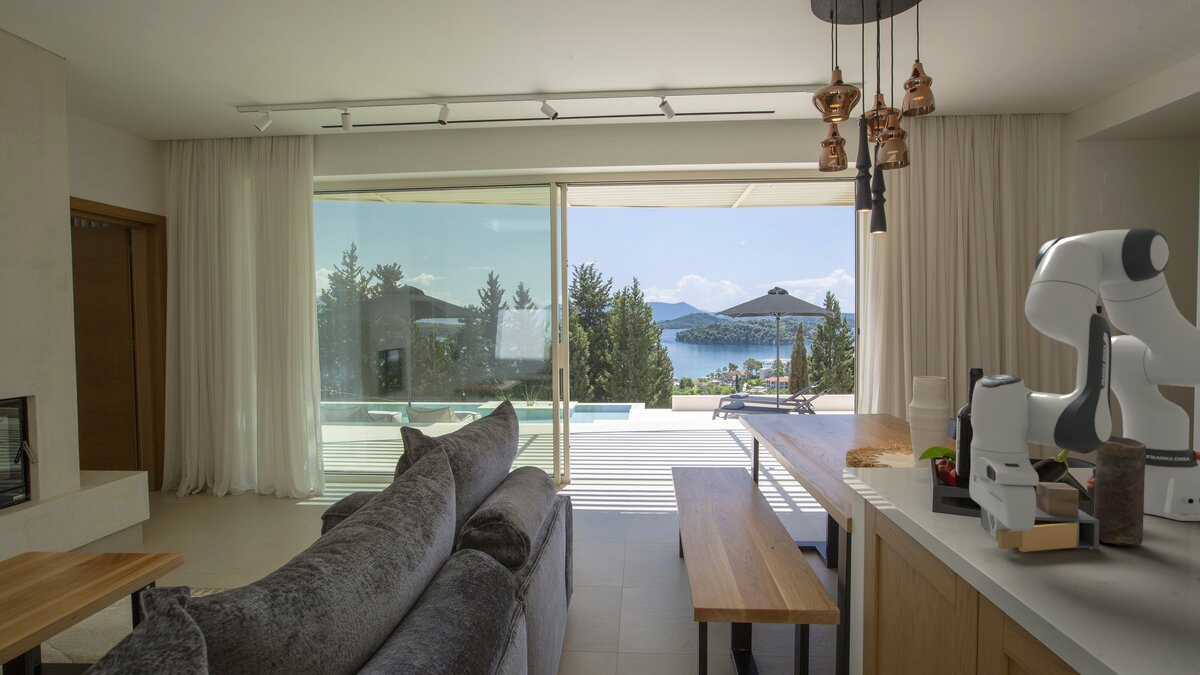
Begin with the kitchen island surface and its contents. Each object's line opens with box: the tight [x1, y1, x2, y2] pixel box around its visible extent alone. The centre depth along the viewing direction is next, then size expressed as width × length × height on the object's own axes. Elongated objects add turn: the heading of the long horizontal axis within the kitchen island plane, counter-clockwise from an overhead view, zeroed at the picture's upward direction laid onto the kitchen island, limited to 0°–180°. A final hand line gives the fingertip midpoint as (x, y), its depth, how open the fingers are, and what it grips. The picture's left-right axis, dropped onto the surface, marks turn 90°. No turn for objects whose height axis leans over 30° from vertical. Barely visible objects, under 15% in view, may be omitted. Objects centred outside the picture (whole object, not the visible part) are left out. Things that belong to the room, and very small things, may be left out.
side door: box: [997, 521, 1079, 553], centre depth 113 cm, size 17×1×5 cm, turn 101°
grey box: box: [980, 506, 1100, 550], centre depth 122 cm, size 16×11×6 cm
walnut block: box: [1035, 481, 1080, 516], centre depth 120 cm, size 5×5×5 cm
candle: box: [1093, 435, 1146, 548], centre depth 118 cm, size 8×7×20 cm
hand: (998, 538), depth 114 cm, fingers closed
